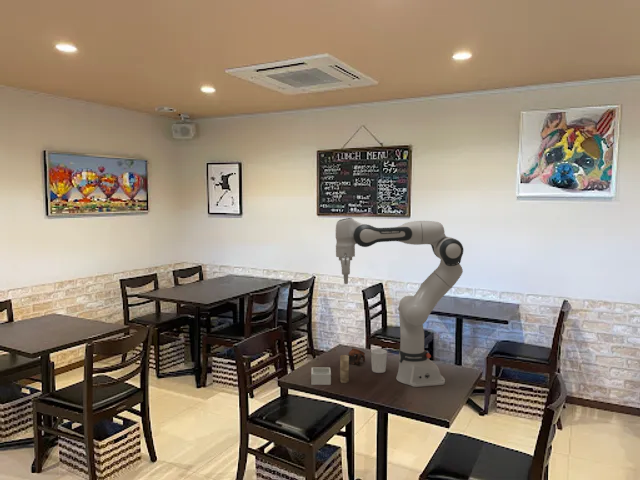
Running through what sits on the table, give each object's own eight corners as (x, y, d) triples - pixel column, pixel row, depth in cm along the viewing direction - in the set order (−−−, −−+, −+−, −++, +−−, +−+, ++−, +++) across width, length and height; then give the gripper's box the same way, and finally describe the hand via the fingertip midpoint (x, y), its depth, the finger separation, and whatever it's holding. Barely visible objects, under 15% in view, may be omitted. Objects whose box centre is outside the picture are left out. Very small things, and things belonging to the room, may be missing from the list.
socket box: (330, 377, 227) (330, 367, 227) (330, 384, 219) (330, 374, 218) (311, 377, 227) (311, 367, 227) (311, 384, 218) (311, 374, 218)
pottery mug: (342, 361, 252) (348, 346, 255) (358, 368, 254) (363, 353, 257) (350, 362, 241) (356, 347, 243) (366, 369, 243) (372, 354, 245)
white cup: (386, 374, 233) (386, 354, 232) (370, 372, 234) (370, 353, 233) (387, 368, 240) (387, 349, 239) (371, 367, 242) (371, 348, 241)
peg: (348, 379, 225) (348, 354, 224) (348, 382, 221) (349, 357, 220) (339, 379, 225) (340, 354, 224) (340, 382, 221) (340, 357, 220)
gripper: (352, 254, 211) (353, 285, 211) (351, 251, 231) (352, 280, 231) (338, 254, 211) (339, 285, 211) (338, 251, 231) (339, 280, 232)
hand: (346, 282), depth 222 cm, fingers open, 8 cm apart
